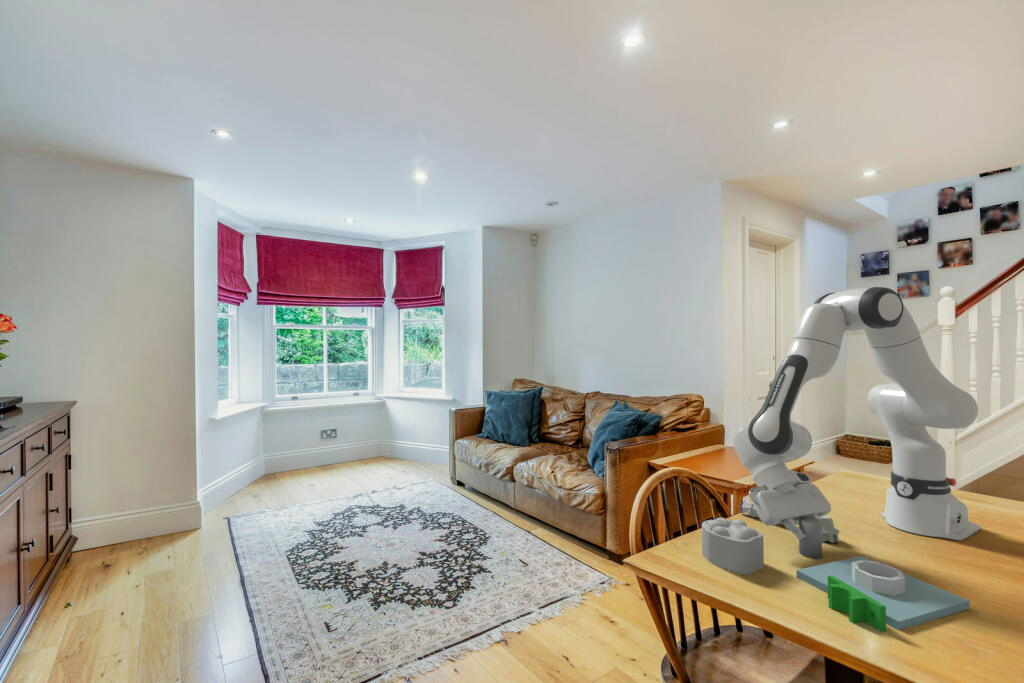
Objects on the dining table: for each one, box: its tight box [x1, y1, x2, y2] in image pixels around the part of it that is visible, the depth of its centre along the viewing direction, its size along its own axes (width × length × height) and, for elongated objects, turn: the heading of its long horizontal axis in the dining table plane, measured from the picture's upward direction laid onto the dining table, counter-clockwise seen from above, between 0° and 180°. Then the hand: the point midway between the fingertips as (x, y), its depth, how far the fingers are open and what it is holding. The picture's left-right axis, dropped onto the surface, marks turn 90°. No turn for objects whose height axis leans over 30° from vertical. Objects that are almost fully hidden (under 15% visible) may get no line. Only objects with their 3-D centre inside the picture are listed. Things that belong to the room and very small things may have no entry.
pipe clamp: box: [827, 576, 887, 633], centre depth 88 cm, size 11×4×5 cm, turn 10°
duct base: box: [796, 555, 971, 631], centre depth 95 cm, size 20×20×4 cm
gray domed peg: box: [798, 517, 823, 560], centre depth 112 cm, size 5×5×8 cm
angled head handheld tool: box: [739, 500, 840, 544], centre depth 129 cm, size 5×7×25 cm
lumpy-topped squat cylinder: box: [701, 517, 765, 576], centre depth 110 cm, size 10×13×9 cm
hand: (812, 536), depth 112 cm, fingers closed on gray domed peg, 5 cm apart
